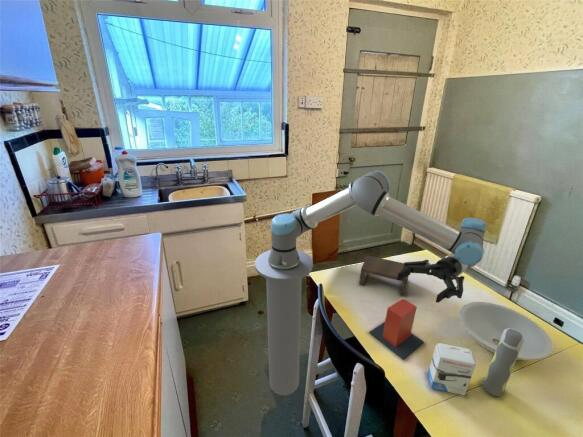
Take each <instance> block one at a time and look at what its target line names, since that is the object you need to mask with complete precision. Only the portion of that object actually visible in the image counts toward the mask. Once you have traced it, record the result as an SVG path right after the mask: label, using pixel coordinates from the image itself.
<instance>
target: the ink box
mask: <svg viewBox="0 0 583 437" xmlns="http://www.w3.org/2000/svg"><path fill="white" fill-rule="evenodd" d="M476 366H477V363H476V360H475V356H474V355H473V352H472V350H471V349H469V348H466V347H461V346H456V345H450V344H446V343H441V342H439V343H436V344H435V347H434V350H433V354H432V356H431V361H430V364H429V367H428V371H427V376H428V381H429V385H430V388H431V389H433V390H438V391H442V392H447V393H451V394H457V395H461V396H465V395H466V393H467V390H468V387H469V385H470V382H471V379H472V377H473V374H474V371H475V368H476Z"/></svg>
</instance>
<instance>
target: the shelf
mask: <svg viewBox="0 0 583 437" xmlns="http://www.w3.org/2000/svg"><path fill="white" fill-rule="evenodd" d="M403 266H404V262H400V261H395V260H391V259H386V258H381V257H377V256H371V255H366V256H365V258H364V261H363V264H362V265H361V268H360V274H359V275H360V277H359V282H358V283H359V284H358V285H359V286H362V287H363V286H364V285H365V284H364V283H365V281H366V279H367V277H368V276H367V275H368V274H369V275H373V276H377V277H381V278H386V279H390V280H394V281H398V280H397V277H398V273H399V272H401V270H402V269H403ZM399 282H401V283H402V284H401V290H400V296H401V297H405V296H406V292H407V287H408V282H409V276H407V277H405V278H403V279H401V280H400V281H399Z"/></svg>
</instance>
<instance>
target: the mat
mask: <svg viewBox="0 0 583 437" xmlns="http://www.w3.org/2000/svg"><path fill="white" fill-rule="evenodd" d="M384 326H385V321H383V323H380V324H379V325H378V326H376V327H375V328H373V329H372V330H370V331H369V335H371V336H372V337H373V338H375V339H376V340H377V341H378V342H380V343H381V344H382V345H383V346H385V347H386V348H388V349H389V350H390V351H391V352H393V353H394V354H395V355H396V356H397V357H399V358H400V359H401V360H403V361H404V360H406V359H407V358H408V357H409V356H410V355H411V354H413V353H414V352H415V351H417V350H418V349H419V348H420V347H421V346H422V345H424V344H425V341H424V340H422V339H421V338H419V337H418V336H416V335H415V334H414V333H413V332H411V336H410V337H408V338H407V339H406V340H405V341H403V342H402V343H401V344H399V345H398V346H397V347H394V346H393V345H392V344H390V343H389V342H388V341H387V340H385V339H384V338H383V331H384Z"/></svg>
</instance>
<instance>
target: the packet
mask: <svg viewBox="0 0 583 437" xmlns="http://www.w3.org/2000/svg"><path fill="white" fill-rule="evenodd" d="M417 308H418V306H416V305H415V304H413V303H412V302H410V301H408V300H406V299H405V298H401V299H400V300H398V301H396V302H395V303H393V304H392V305H390V306H388V307H387V308H386V315H385V320H384V322H385V326H384V331H383V338H384V339H385V340H387V341H388V342H389V343H390V344H392V345H393V346H394V347H397V346H398V345H399V344H401V343H402V342H403V341H405V340H406V339H407V338H408V337H410V336H411V333H412V330H413V328H414V326H413V325H414V322H415V317H416V313H417Z"/></svg>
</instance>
